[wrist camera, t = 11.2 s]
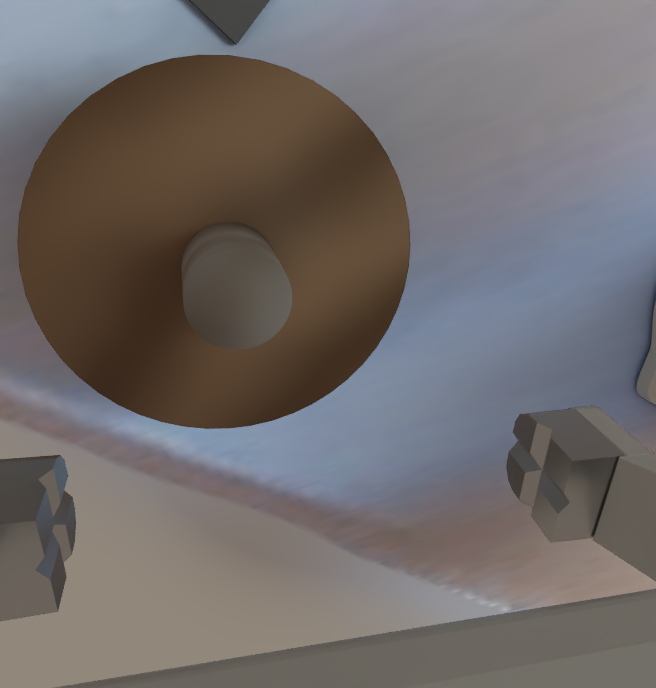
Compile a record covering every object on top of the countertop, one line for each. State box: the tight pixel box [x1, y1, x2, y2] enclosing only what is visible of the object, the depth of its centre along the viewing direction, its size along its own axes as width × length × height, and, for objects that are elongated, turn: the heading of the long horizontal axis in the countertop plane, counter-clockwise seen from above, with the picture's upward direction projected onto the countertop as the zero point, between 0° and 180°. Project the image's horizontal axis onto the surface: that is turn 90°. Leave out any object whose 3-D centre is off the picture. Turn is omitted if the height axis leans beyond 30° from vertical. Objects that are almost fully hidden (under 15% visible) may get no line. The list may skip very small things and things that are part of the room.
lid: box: [18, 55, 410, 429], centre depth 19 cm, size 13×13×4 cm
